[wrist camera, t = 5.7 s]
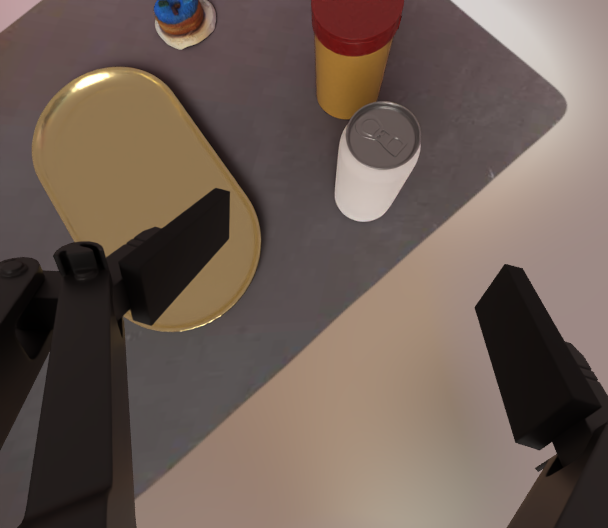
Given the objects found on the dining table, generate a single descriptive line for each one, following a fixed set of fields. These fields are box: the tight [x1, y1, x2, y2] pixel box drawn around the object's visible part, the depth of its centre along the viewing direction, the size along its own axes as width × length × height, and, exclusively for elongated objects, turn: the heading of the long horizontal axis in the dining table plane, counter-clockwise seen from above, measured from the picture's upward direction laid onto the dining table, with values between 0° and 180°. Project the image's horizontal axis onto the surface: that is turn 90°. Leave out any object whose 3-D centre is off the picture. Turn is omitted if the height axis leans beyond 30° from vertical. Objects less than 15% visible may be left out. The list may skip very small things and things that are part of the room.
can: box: [335, 101, 421, 222], centre depth 29 cm, size 6×6×12 cm
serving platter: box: [32, 67, 261, 332], centre depth 36 cm, size 19×35×2 cm, turn 35°
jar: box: [314, 33, 394, 119], centre depth 32 cm, size 8×8×10 cm
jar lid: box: [311, 0, 404, 57], centre depth 27 cm, size 8×8×2 cm
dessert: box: [153, 0, 216, 50], centre depth 39 cm, size 8×7×6 cm
